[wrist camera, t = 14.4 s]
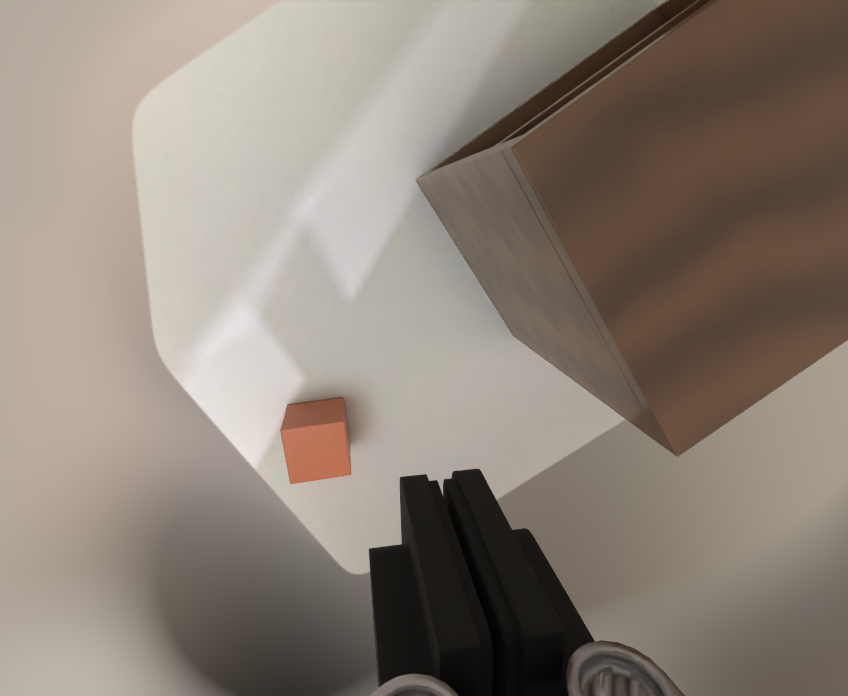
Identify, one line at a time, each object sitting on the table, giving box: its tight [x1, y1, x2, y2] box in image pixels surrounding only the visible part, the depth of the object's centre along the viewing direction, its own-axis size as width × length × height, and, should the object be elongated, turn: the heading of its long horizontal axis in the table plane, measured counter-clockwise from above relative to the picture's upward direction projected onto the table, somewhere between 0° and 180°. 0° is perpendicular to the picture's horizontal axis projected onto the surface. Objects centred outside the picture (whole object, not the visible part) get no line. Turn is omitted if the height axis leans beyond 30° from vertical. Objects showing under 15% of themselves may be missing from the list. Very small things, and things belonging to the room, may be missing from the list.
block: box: [281, 398, 351, 484], centre depth 44 cm, size 6×6×6 cm
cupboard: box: [416, 0, 848, 456], centre depth 32 cm, size 18×26×24 cm
